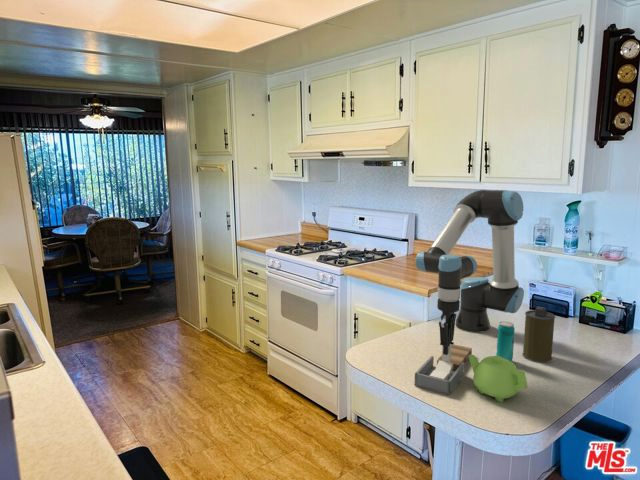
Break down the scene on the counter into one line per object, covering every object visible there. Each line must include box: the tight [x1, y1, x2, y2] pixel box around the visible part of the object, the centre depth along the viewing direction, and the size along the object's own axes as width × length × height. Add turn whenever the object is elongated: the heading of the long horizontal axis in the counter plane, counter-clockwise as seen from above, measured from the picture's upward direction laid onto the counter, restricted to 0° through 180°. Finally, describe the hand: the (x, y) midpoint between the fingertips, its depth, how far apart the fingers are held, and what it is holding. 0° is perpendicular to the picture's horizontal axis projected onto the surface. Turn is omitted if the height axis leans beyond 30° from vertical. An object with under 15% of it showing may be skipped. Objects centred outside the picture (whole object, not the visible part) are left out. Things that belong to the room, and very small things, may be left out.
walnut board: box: [436, 343, 473, 371], centre depth 170 cm, size 18×8×3 cm, turn 147°
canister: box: [521, 305, 556, 363], centre depth 172 cm, size 11×10×20 cm
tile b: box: [429, 370, 448, 380], centre depth 154 cm, size 5×5×2 cm
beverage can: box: [496, 321, 515, 362], centre depth 168 cm, size 6×6×15 cm
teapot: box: [468, 354, 529, 403], centre depth 145 cm, size 20×13×13 cm
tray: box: [414, 355, 465, 396], centre depth 155 cm, size 17×12×4 cm
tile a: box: [435, 360, 453, 378], centre depth 158 cm, size 5×5×2 cm
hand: (446, 361), depth 160 cm, fingers closed
